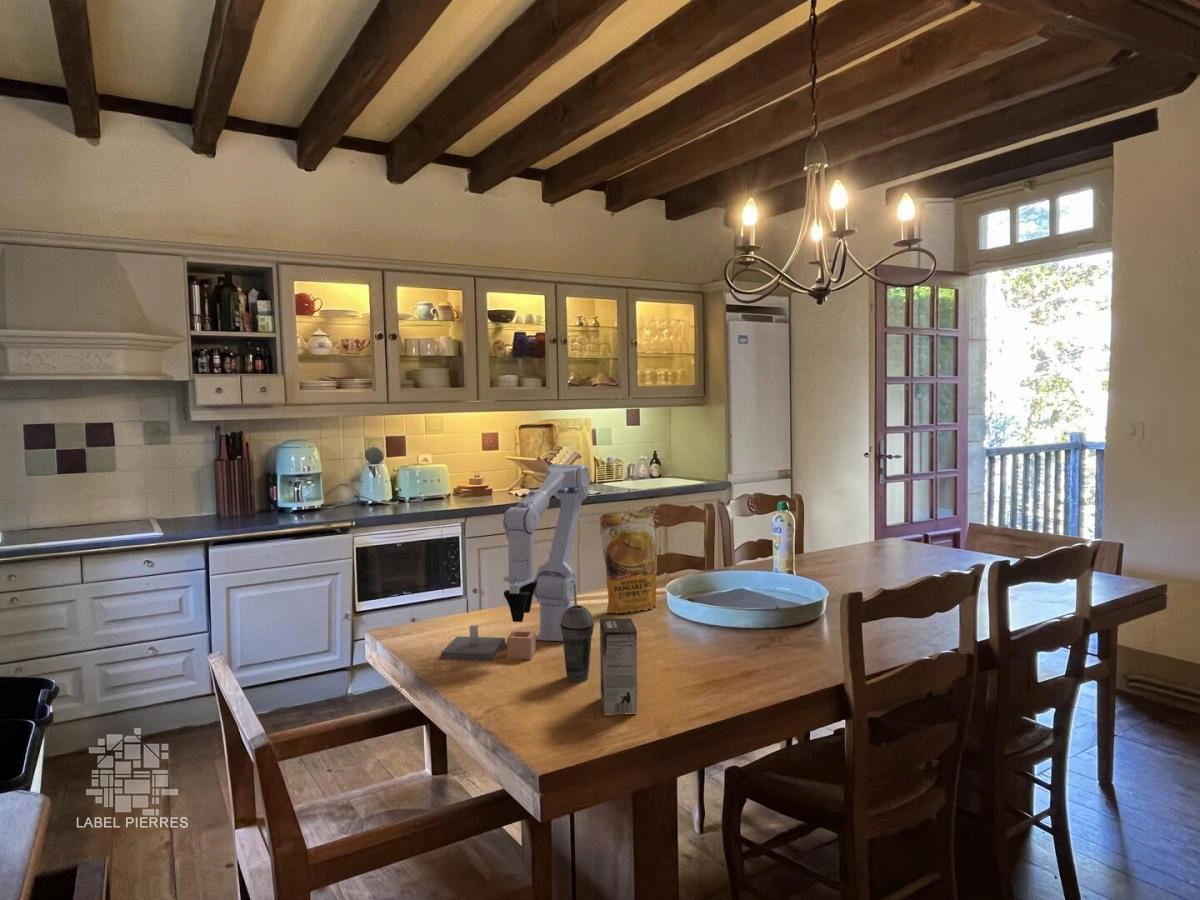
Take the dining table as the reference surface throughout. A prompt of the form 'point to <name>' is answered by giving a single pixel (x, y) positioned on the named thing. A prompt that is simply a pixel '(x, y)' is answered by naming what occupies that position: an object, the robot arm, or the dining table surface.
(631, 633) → the coffee box
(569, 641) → the beverage cup
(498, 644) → the post board
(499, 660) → the dining table surface
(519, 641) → the collar
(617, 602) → the pancake mix bag
